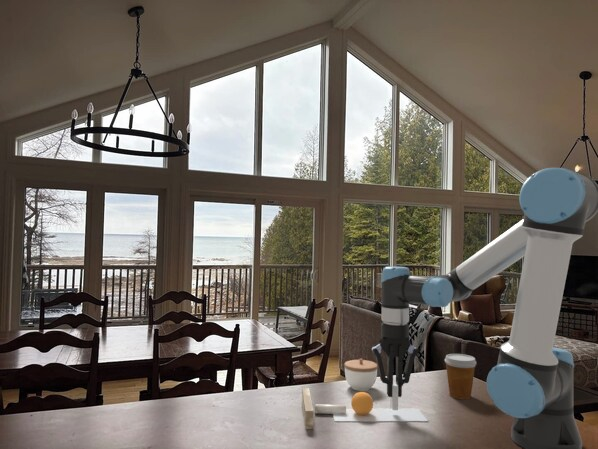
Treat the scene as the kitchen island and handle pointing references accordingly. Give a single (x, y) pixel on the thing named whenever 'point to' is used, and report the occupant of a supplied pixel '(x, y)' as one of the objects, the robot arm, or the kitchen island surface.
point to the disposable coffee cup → (460, 375)
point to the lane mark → (382, 415)
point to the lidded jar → (360, 374)
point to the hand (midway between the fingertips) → (394, 408)
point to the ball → (362, 403)
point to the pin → (330, 409)
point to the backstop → (307, 408)
